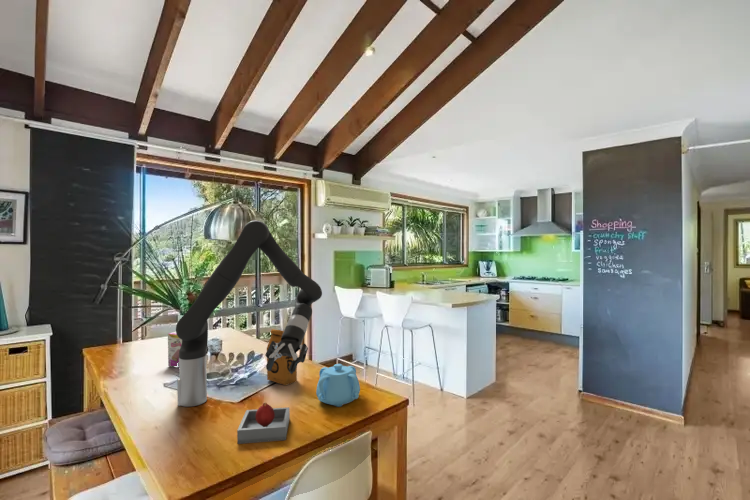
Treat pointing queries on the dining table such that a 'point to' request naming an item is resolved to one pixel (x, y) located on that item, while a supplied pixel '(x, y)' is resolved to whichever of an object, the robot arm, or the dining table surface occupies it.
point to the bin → (257, 433)
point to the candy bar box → (173, 348)
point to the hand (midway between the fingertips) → (279, 371)
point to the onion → (265, 415)
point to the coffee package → (280, 364)
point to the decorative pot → (338, 385)
